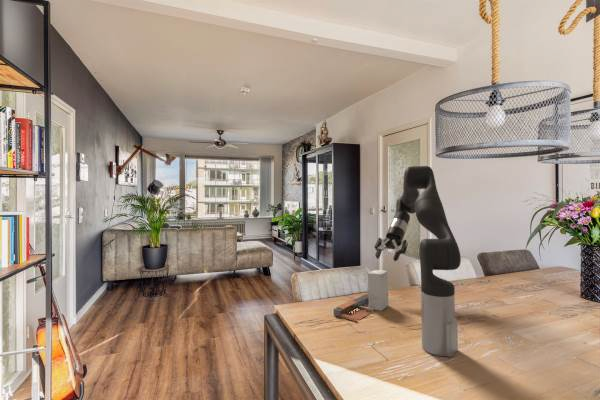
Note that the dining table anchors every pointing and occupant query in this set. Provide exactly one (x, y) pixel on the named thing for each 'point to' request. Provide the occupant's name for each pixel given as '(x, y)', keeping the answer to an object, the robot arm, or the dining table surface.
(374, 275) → the skincare box
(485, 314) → the dining table surface
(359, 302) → the rail
